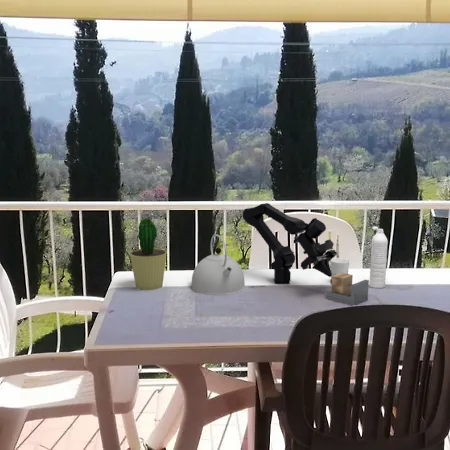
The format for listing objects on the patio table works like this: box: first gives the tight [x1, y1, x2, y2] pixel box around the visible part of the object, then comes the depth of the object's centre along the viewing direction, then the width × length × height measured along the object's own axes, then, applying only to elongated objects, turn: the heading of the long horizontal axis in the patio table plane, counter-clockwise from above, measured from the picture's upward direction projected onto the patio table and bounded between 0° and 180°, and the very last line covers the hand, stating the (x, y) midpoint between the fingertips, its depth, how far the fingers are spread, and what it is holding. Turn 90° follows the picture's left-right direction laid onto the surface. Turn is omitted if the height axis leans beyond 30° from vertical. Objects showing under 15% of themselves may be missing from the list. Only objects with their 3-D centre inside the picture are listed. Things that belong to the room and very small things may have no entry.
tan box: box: [330, 273, 353, 296], centre depth 220 cm, size 6×7×8 cm
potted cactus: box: [129, 217, 168, 291], centre depth 232 cm, size 15×15×30 cm
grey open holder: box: [325, 279, 370, 306], centre depth 218 cm, size 13×10×8 cm
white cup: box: [330, 257, 350, 279], centre depth 240 cm, size 8×8×10 cm
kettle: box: [190, 233, 246, 296], centre depth 231 cm, size 25×23×23 cm
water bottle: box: [369, 226, 389, 289], centre depth 234 cm, size 9×6×25 cm
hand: (331, 276), depth 222 cm, fingers closed
